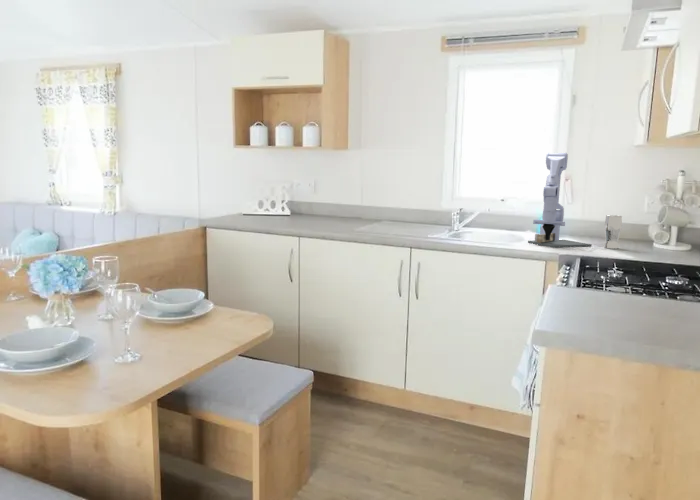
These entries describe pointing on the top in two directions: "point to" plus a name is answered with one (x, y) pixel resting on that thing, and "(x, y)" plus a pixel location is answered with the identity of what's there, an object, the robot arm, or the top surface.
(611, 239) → the beer glass
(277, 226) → the top surface
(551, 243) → the gate board
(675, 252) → the top surface
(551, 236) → the gate
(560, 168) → the robot arm
